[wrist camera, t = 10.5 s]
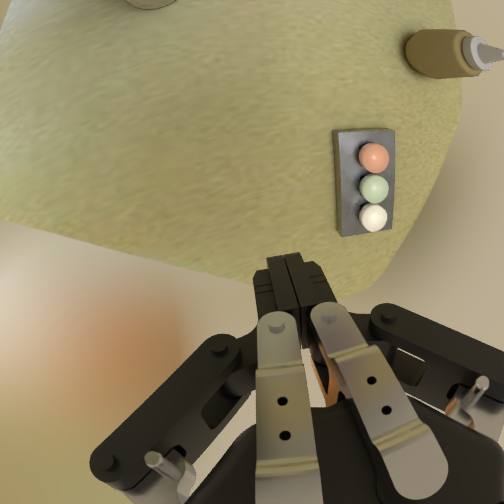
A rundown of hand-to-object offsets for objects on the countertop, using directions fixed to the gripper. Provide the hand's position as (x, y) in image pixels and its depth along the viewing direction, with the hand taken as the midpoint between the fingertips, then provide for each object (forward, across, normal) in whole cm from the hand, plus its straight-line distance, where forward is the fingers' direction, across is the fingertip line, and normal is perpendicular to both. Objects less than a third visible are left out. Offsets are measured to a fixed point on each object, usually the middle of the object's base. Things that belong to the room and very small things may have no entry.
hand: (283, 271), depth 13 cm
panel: (+29, -17, +6) cm, 34 cm away
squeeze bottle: (+29, -29, -14) cm, 43 cm away
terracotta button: (+28, -17, +2) cm, 33 cm away
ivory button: (+28, -17, +11) cm, 35 cm away
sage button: (+28, -17, +6) cm, 33 cm away
